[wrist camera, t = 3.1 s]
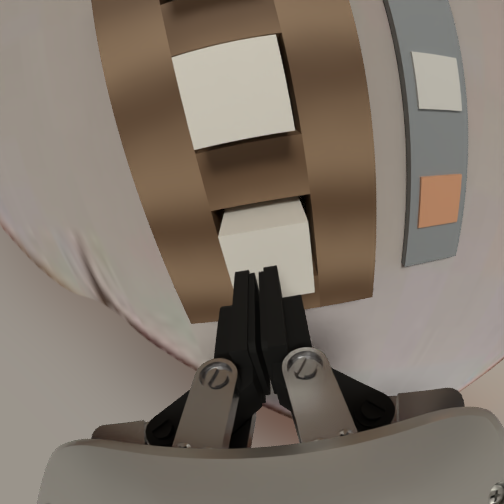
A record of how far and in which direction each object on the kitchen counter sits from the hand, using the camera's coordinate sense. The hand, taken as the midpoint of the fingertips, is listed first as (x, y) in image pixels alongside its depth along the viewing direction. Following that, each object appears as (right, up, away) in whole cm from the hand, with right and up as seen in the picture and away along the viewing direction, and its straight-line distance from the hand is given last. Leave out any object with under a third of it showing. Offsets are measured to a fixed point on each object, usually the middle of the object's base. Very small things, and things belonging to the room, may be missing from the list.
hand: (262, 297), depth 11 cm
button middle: (-1, +10, +1) cm, 10 cm away
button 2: (0, +3, +5) cm, 6 cm away
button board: (-1, +10, +2) cm, 11 cm away
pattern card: (+11, +12, +1) cm, 16 cm away
